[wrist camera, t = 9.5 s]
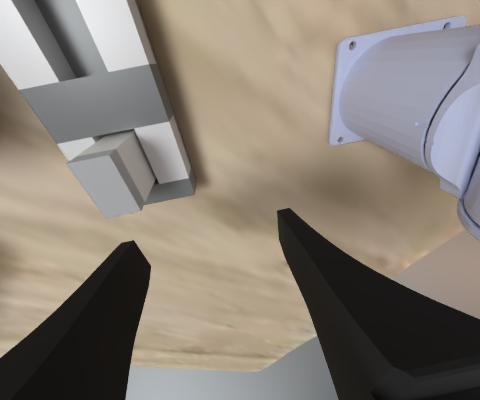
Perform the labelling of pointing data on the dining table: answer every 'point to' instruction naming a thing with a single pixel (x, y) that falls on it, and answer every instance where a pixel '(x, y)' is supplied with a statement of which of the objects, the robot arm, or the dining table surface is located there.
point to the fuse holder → (95, 81)
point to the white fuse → (115, 173)
